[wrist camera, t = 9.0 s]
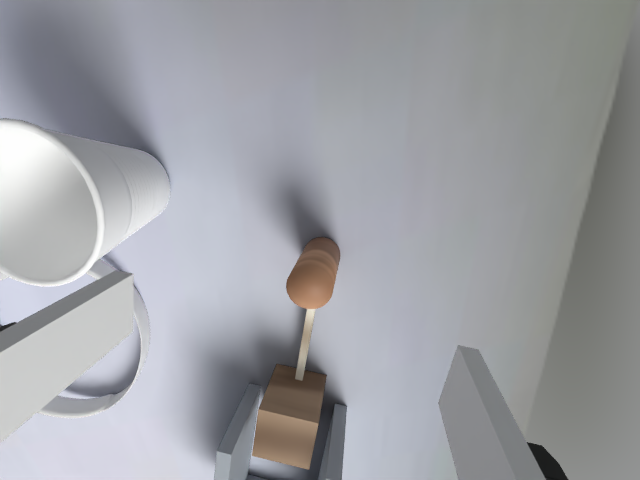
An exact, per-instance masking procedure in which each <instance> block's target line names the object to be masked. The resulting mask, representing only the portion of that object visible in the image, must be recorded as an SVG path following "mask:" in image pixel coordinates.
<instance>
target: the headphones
mask: <svg viewBox="0 0 640 480" xmlns="http://www.w3.org/2000/svg"><path fill="white" fill-rule="evenodd" d="M115 270H117V269H116V268H114V267H113V266H111V265H110V264H108V263H106V262H105V261H103V260H101V259H98V260H97V261H96V262H94V264H93V266H92V267H91V268H90V269H89V270H88V271H87V272H86V274H88V275H90V276H92V277H93V278H95V279H96V280H98V279H100V278H102V277H104V276H106V275H108V274H109V273H111V272H113V271H115ZM6 278H9V276H7V275H5V274H3V273H1V272H0V281H2V280H4V279H6ZM133 315H134V317H135V319H136V322H137V325H138V328H139V333H140V340H141V355H140V361H139V366H138V369H137V373H136V376H135V378H134V380H133V382H132V383H131V384H130V385H129V386H128V387H127V388H125V389H124V390H123V391H121V392H120V393H118V394H115V395H114V394H108V395H105V396H102V397H97V398H90V399H76V398H68V397H62V396H58V395H57V396H56V397H55V398H54V399H53V400H51V401H50V402H49V403H48V404H47V405H45V406H44V407H43V408H42V409H41V410H39V411H38V412H37V413H39V414H43V415H47V416H53V417H60V418H81V417H88V416H92V415H95V414H98V413H101V412H103V411H105V410H107V409H109V408H111V407H112V406H114V405H115V404H116V403H118V402H119V401H120V400H121V399H122V398H123V397H124V396H125V395H126V394H127V393H128V391H129V390H130V389H131V387H132V386H133V384H134V383H135V381H136V380H137V378H138V377H139V375H140V373H141V371H142V369H143V367H144V364H145V361H146V358H147V354H148V350H149V345H150V322H149V317H148V312H147V309H146V306H145V304H144V302H143V300H142V298H141V296H140V294H139V292H138V291H137V289H136V288H135V287H134V285H133ZM0 327H1V326H0Z"/></svg>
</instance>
